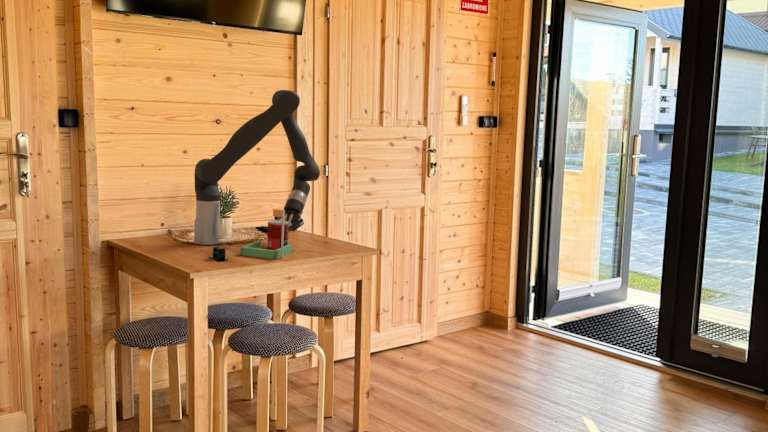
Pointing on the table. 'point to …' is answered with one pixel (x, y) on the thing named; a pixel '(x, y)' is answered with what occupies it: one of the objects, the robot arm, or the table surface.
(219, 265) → the table surface
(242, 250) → the green u-shaped frame
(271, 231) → the canned food
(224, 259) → the black block
